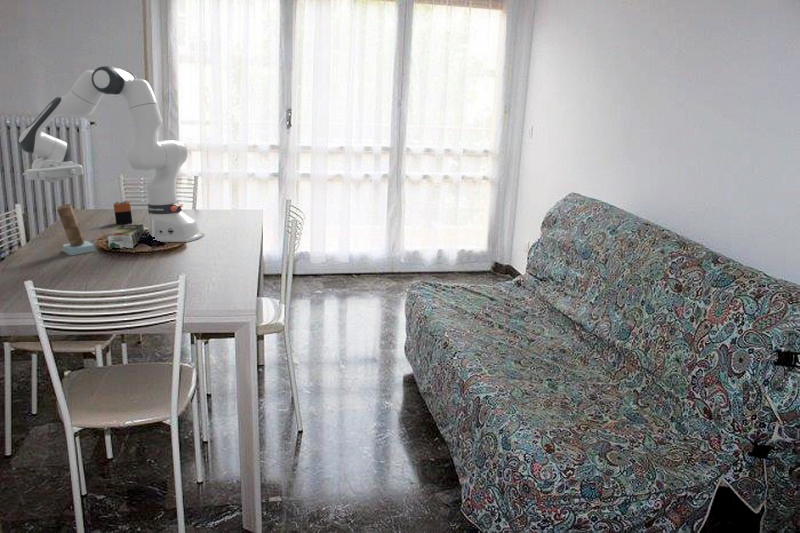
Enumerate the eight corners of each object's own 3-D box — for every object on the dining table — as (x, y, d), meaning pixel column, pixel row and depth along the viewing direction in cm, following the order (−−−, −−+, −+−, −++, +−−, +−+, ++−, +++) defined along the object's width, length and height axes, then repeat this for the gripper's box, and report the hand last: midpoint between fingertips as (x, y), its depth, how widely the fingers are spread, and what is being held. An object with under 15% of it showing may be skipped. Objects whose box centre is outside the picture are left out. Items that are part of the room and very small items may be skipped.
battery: (132, 223, 310) (129, 201, 307) (116, 224, 307) (113, 202, 305) (131, 221, 314) (129, 199, 311) (115, 223, 311) (113, 201, 308)
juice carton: (134, 249, 265) (132, 234, 264) (107, 251, 264) (105, 235, 262) (146, 238, 284) (144, 223, 283) (121, 239, 283) (119, 224, 282)
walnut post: (84, 239, 265) (71, 203, 259) (83, 243, 261) (69, 206, 255) (72, 242, 264) (58, 206, 258) (71, 246, 260) (56, 209, 254)
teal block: (87, 248, 270) (86, 240, 269) (95, 252, 263) (94, 244, 262) (63, 252, 264) (62, 244, 263) (70, 256, 258) (69, 249, 257)
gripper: (20, 165, 268) (28, 168, 257) (75, 160, 280) (85, 163, 270) (23, 182, 269) (31, 185, 259) (78, 176, 282) (88, 179, 271)
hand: (59, 173), depth 264 cm, fingers open, 8 cm apart
